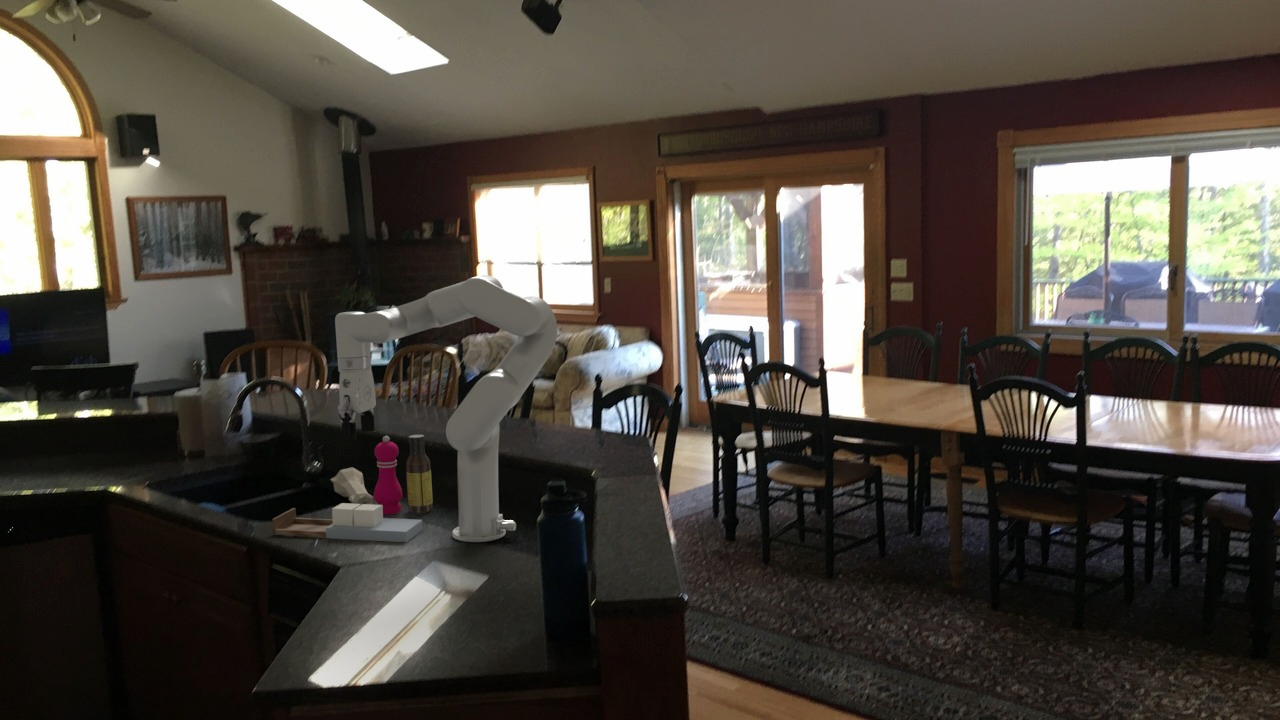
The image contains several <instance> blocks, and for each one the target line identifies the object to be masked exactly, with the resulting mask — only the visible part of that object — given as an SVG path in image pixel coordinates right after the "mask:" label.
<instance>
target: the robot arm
mask: <svg viewBox="0 0 1280 720" xmlns="http://www.w3.org/2000/svg"><path fill="white" fill-rule="evenodd" d="M474 317H476V318H478V319H480V320H481V321H484V322H486V323H488V324H489V325H493V326H494V327H497V328H498V329H501V330H502V331H504V332H507V333H508V334H511V335H514V336H517V337H518V338H517V339H516V341H515V342H514V344H512V346H511V347H510V348H509V350H508V352H506V354H505V355H504V357H503V359H501V361H500V362H499V363H498V364H497V366H496V367H495V368H494V369H493V370H492V371H490V372H488V373H487V374H485V375H483V376H482V377H481V378H480V379H479V380H478V381H477V382H476V383H475V384H474V385H473V387H472V388H471V389H470V391H469V392H468V394H467V395H466V396H465V397H464V399H463V400H462V401H461V402H460V404H459V405H458V407H457V408H456V409H455V411H454V412H453V413H452V414H451V416H450V418H449V420H448V421H447V423H446V427H445V435H446V440H447V442H448V443H449V445H450V446H451V447H452V448H453V450H454V449H455V450H456V451H457V462H456V464H457V499H458V500H457V503H458V504H457V505H458V507H457V508H458V526H456V527H454V529H453V530H452V535H451V536H452V538H453V539H455V540H456V541H457V540H458V541H459V542H467V543H485V542H486V543H487V542H491V541H495V540H499V539H501V538H503V537H504V536H506V533H507V531H514V532H515V531H516V528H517V522H515V520H511V519H510V520H508V519H506V520H505V519H504V518H503V517H504V516H503V515H504V514H503V513H500V507H499V506H500V503H499V499H500V498H499V445H500V444H499V443H500V429H501V428H500V422H501V421H502V420H503V419H504V417H505V416H506V415H507V413H508V412H509V411H510V410H511V409H512V408H513V407H514V406H516V405H517V404H518V402H520V399H521V398H522V397H523V394H524V393H525V391H526V390H527V389H528V388H529V386H530V385H531V383H532V382H533V381H534V379H535V378H536V376H537V375H538V374H539V372H540V371H541V369H542V367H544V365H545V363H546V362H547V360H548V359H549V358H550V356H551V355H552V353H553V350H554V348H555V345H556V342H557V336H558V325H557V324H558V323H557V319H556V316H555V314H554V312H553V308H551V306H550V305H549V303H548V302H547V301H545V300H544V299H543V298H540V297H538V296H526V297H522V296H520V295H517V294H515V293H512V292H511V291H508V290H506V289H504V287H503V285H502V283H501V282H500V281H499V279H497V278H496V277H494V276H491V275H486V274H485V275H478V276H474V277H470V278H468V279H466V280H464V281H461V282H458V283H456V284H455V283H454V284H452V285H449V286H446V287H442V288H440V289H436V290H433V291H431V292H428V293H427V294H426V295H425V296H423V297H421V298H419V299H417V300H413V301H410V302H407V303H404V304H401V305H398V306H395V307H394V306H393V307H392V308H391V307H390V308H386V309H381V310H376V311H373V312H367V313H366V312H364V311H345V312H344V311H343V312H339V313H337V314H336V316H335V318H334V319H335V320H334V324H335V326H334V327H335V337H336V338H335V339H336V353H337V355H336V356H337V366H338V367H337V370H338V372H339V385H338V386H339V388H338V389H339V390H338V391H339V405H338V406H337V411H338V415H339V418H340V424H341V431H342V432H341V433H342V439H343V440H346V441H347V440H348V441H349V440H350V441H351V440H356V439H357V438H358V437H357V424H356V422H355V420H356V415H357V414H361V415H360V425H361V432H374V431H375V430H376V429H375V428H376V427H375V407H376V406H377V398H376V397H377V396H376V388H375V380H374V375H373V371H372V358H371V343H372V344H385V343H388V342H392V341H395V340H399V339H401V338H405V337H408V336H411V335H414V334H418V333H420V332H423V331H427V330H430V329H434V328H443V327H445V326H449V325H452V324H455V323H458V322H462V321H465V320H467V319H471V318H474Z"/></svg>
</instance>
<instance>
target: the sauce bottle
mask: <svg viewBox="0 0 1280 720" xmlns="http://www.w3.org/2000/svg"><path fill="white" fill-rule="evenodd" d="M408 443H409V456H408V457H407V460H406V464H405V465H406V486H407V488H406V489H407V490H406V491H407V502H408V503H407V505H408V511H409V512H410V513H413V514H425V513H428V512H431V511H432V510H433V502H434V501H433V486H432V485H433V484H432V469H431V461H430V459H429V457H428V456H427V454H426V449H425V435H424V434H413V435H409V436H408Z"/></svg>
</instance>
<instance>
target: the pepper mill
mask: <svg viewBox="0 0 1280 720" xmlns="http://www.w3.org/2000/svg"><path fill="white" fill-rule="evenodd" d="M390 440H391V438H390V437H389V436H388V435H385V436H383V437H382V442H379V443H378V444H377V445H376V446H375V448H374V457H375V458H376V459H377V461H376V466H377V467H378V470H379V473H378V479H377V482H376V485H375V487H374V491H373V497H374V501H375V502H376V503H377V504H376V505H383V516H384V515H385V516H387V515H388V516H389V515H395V514H398V513H400V512H401V511H402V504H401V503H400V501H401V499H402V498H403V490H402V487H401V484H400V482H399V481H398V478H397V475H396V466H398V463H397V462H398V460H397V459H396V458H397V457H398V456H399V453H400V452H399V447H398V445H397V444H396V443H394V442H393V441H390Z"/></svg>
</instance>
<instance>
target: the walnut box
mask: <svg viewBox="0 0 1280 720" xmlns="http://www.w3.org/2000/svg"><path fill="white" fill-rule="evenodd" d="M296 511H297V509H296V508H295V507H293V508H290V509H289V510H287V511H285V512H283V513H281V514H279V515H278V516H276V517H274V518H272V520H271V521H272V525H271V526H272V535H273V534H283V535H288V536H287V537H293V536H298V537H297V538H312V539H313V538H315V539H316V538H318V539H327V538H326V528H327V527H328V526H330V525H331V524H333V519H332V518H330V519H328V518H310V517H309V518H306V517H305V518H304V517H297V512H296Z"/></svg>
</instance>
